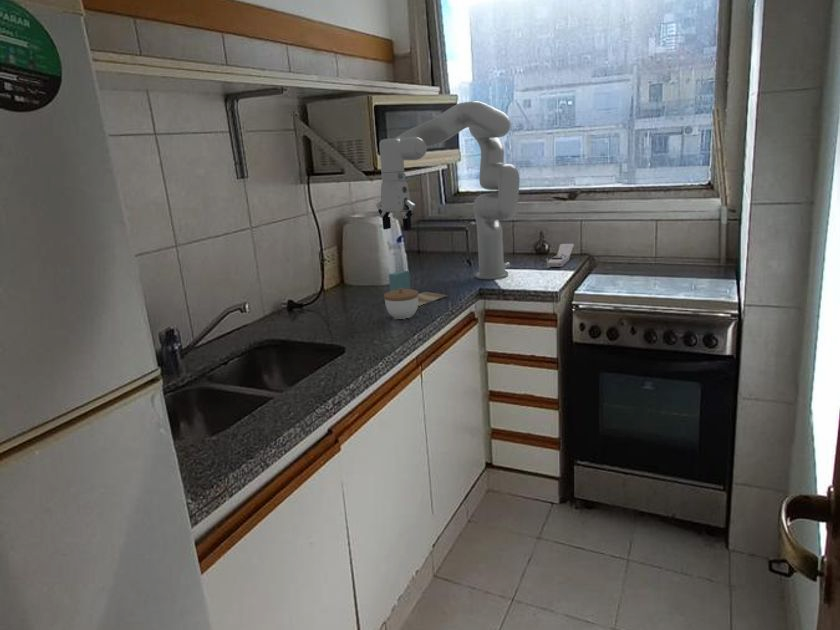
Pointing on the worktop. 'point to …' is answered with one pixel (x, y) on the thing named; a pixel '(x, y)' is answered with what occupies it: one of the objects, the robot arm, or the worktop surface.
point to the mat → (428, 297)
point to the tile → (399, 280)
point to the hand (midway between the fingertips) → (397, 229)
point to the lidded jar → (401, 303)
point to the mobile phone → (561, 256)
